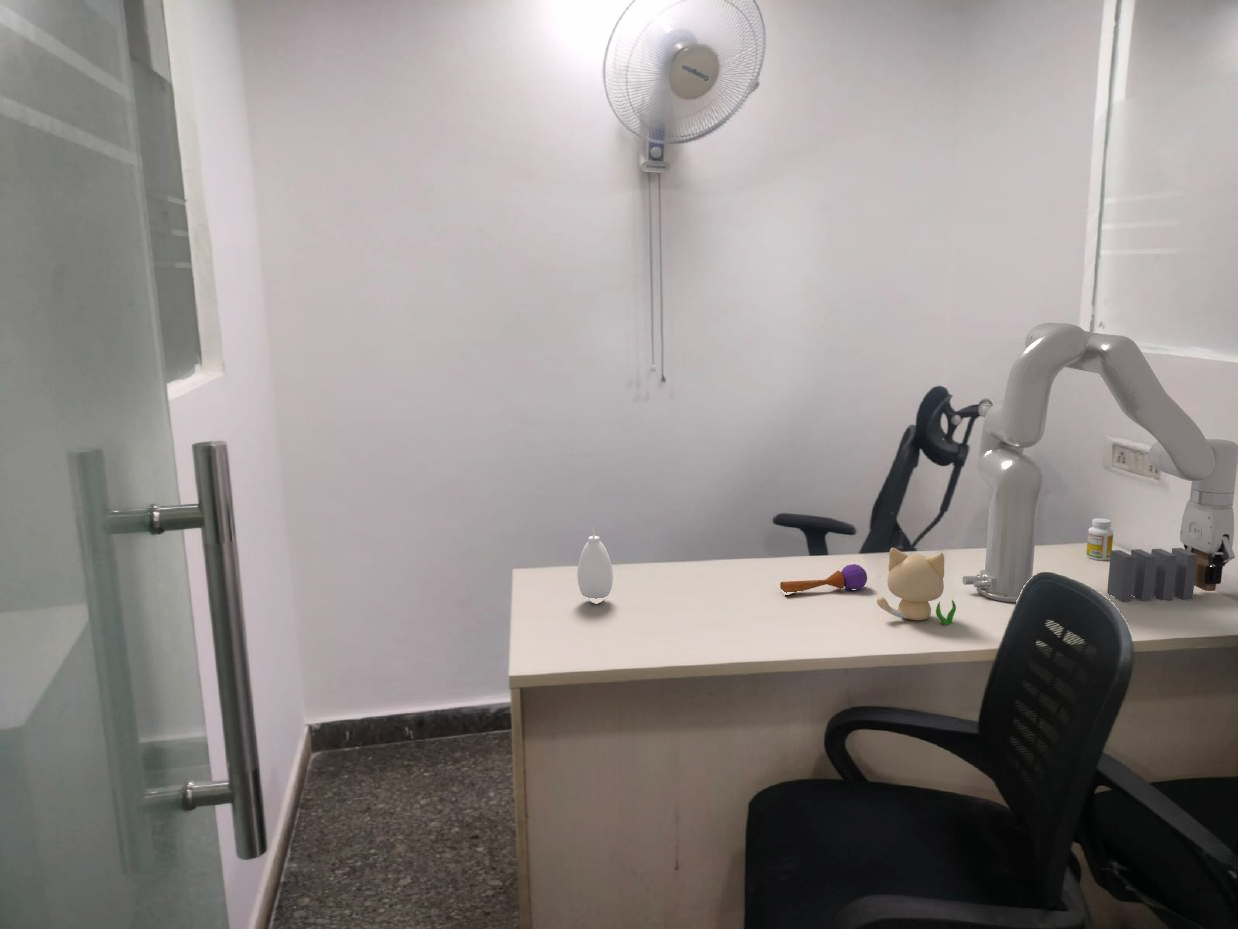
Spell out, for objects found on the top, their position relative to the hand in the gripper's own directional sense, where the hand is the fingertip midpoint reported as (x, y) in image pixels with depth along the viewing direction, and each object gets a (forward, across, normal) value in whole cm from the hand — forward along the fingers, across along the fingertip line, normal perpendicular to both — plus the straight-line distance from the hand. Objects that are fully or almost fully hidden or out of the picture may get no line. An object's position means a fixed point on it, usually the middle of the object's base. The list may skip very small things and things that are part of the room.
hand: (1202, 578), depth 178 cm
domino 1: (+4, 0, -18) cm, 19 cm away
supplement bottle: (+4, -27, -6) cm, 28 cm away
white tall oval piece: (+3, -8, -132) cm, 132 cm away
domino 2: (+4, 0, -14) cm, 14 cm away
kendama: (+4, -11, -80) cm, 80 cm away
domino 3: (+4, 0, -9) cm, 10 cm away
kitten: (+4, +7, -65) cm, 66 cm away
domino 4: (+4, 0, -5) cm, 6 cm away
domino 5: (+2, 0, 0) cm, 2 cm away
